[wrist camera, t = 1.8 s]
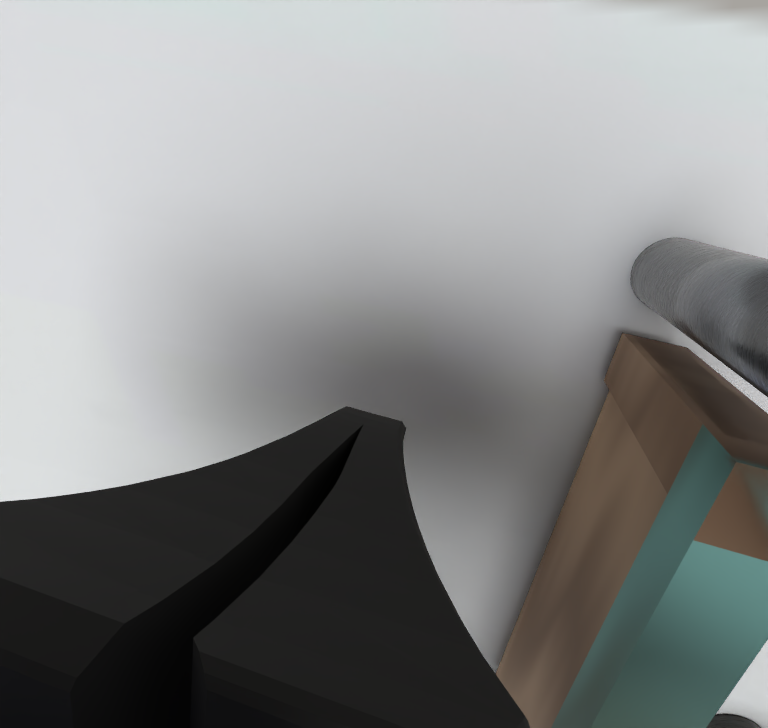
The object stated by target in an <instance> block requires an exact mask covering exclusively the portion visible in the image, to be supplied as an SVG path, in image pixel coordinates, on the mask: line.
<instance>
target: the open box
mask: <svg viewBox="0 0 768 728" xmlns="http://www.w3.org/2000/svg"><path fill="white" fill-rule="evenodd" d="M604 382H605V383H606V385H607V387H608V389H609V392H608V395H607V397H606V400H605V402H604V405H603V407H602V410H601V412H600V415H599V417H598V420H597V422H596V425H595V427H594V430H593V432H592V435H591V437H590V440H589V442H588V445H587V447H586V450H585V452H584V455H583V457H582V460H581V462H580V465H579V467H578V470H577V472H576V475H575V477H574V480H573V482H572V485H571V487H570V490H569V492H568V495H567V497H566V500H565V502H564V505H563V507H562V510H561V512H560V515H559V517H558V520H557V522H556V525H555V527H554V529H553V532H552V534H551V537H550V539H549V542H548V544H547V547H546V549H545V552H544V554H543V557H542V559H541V562H540V564H539V567H538V569H537V572H536V574H535V577H534V579H533V582H532V584H531V587H530V589H529V592H528V594H527V597H526V599H525V602H524V604H523V607H522V609H521V612H520V614H519V617H518V619H517V622H516V624H515V627H514V629H513V632H512V634H511V637H510V639H509V642H508V644H507V647H506V649H505V652H504V654H503V657H502V659H501V662H500V664H499V667H498V669H497V672H496V675H497V677H498V678H499V680H500V681H501V682H502V684H503V685H504V687H505V688H506V690H507V691H508V692H509V694H510V695H511V697H512V698H513V699H514V701H515V702H516V704H517V705H518V707H519V708H520V709H521V711H522V712H523V714H524V715H525V717H526V718H527V720H528V722H529V726H530V728H706V727H707V726H708V724H709V723H710V721H711V720H712V719H713V717H714V716H715V714H716V713H717V711H718V710H719V708H720V707H721V706H722V704H723V703H724V701H725V700H726V698H727V697H728V696H729V694H730V693H731V691H732V690H733V688H734V687H735V686H736V684H737V683H738V681H739V680H740V678H741V677H742V675H743V674H744V673H745V671H746V670H747V668H748V667H749V665H750V664H751V663H752V661H753V660H754V658H755V657H756V655H757V654H758V652H759V651H760V650H761V648H762V647H763V645H764V644H765V642H766V641H767V640H768V414H767V413H766V412H765V411H764V410H762V409H761V408H760V407H759V406H757V405H756V404H755V403H754V402H753V401H751V400H750V399H749V398H748V397H747V396H745V395H744V394H743V393H742V392H740V391H739V390H738V389H737V388H736V387H734V386H733V385H732V384H731V383H730V382H728V381H727V380H726V379H725V378H723V377H722V376H721V375H720V374H719V373H717V372H716V371H715V370H714V369H712V368H711V367H710V366H709V365H708V364H706V363H705V362H704V361H703V360H702V359H700V358H699V357H698V356H697V355H695V354H694V353H693V352H692V351H691V350H689V349H688V348H686V347H682V346H677V345H673V344H669V343H664V342H660V341H656V340H651V339H647V338H643V337H638V336H634V335H630V334H625V333H622V335H621V338H620V340H619V343H618V345H617V348H616V350H615V353H614V356H613V358H612V361H611V363H610V366H609V368H608V371H607V373H606V376H605V378H604Z"/></svg>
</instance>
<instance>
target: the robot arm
mask: <svg viewBox="0 0 768 728" xmlns="http://www.w3.org/2000/svg"><path fill="white" fill-rule="evenodd" d="M405 430H406V427H405V426H404V424H403V422H402V421H398V420H394V419H391V418H387V417H383V416H380V415H376V414H372V413H369V412H365V411H362V410H358V409H354V408H351V407H344V408H342V409H340V410H338V411H336V412H334V413H332V414H330V415H328V416H326V417H324V418H322V419H321V420H319V421H317V422H315V423H313V424H311V425H309V426H306V427H304V428H302V429H300V430H298V431H296V432H294V433H292V434H290V435H288V436H286V437H283V438H281V439H279V440H276V441H274V442H271V443H269V444H267V445H264V446H262V447H259V448H257V449H255V450H252V451H250V452H247V453H245V454H242V455H239V456H237V457H234V458H231V459H228V460H225V461H222V462H219V463H215V464H212V465H209V466H205V467H202V468H199V469H195V470H192V471H188V472H184V473H180V474H176V475H171V476H167V477H162V478H158V479H154V480H149V481H145V482H140V483H136V484H132V485H126V486H121V487H115V488H109V489H103V490H97V491H91V492H84V493H77V494H70V495H63V496H56V497H47V498H38V499H29V500H17V501H5V502H0V728H530V726H529V722H528V720H527V718H526V717H525V715H524V714H523V712H522V711H521V709H520V708H519V707H518V705H517V704H516V702H515V701H514V699H513V698H512V697H511V695H510V694H509V692H508V691H507V690H506V688H505V687H504V685H503V684H502V682H501V681H500V680H499V678H498V677H497V675H496V674H495V673H494V671H493V670H492V668H491V667H490V666H489V664H488V663H487V661H486V660H485V658H484V657H483V655H482V654H481V652H480V651H479V649H478V647H477V646H476V644H475V642H474V641H473V639H472V637H471V636H470V634H469V632H468V630H467V629H466V627H465V625H464V624H463V622H462V620H461V619H460V617H459V615H458V613H457V611H456V609H455V607H454V605H453V603H452V601H451V599H450V597H449V595H448V593H447V592H446V590H445V588H444V586H443V584H442V582H441V580H440V578H439V576H438V574H437V572H436V570H435V567H434V565H433V563H432V560H431V558H430V555H429V553H428V551H427V548H426V546H425V543H424V540H423V538H422V535H421V532H420V529H419V526H418V523H417V520H416V517H415V513H414V510H413V506H412V502H411V498H410V494H409V490H408V485H407V480H406V473H405V467H404V458H403V439H404V435H405Z"/></svg>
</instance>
